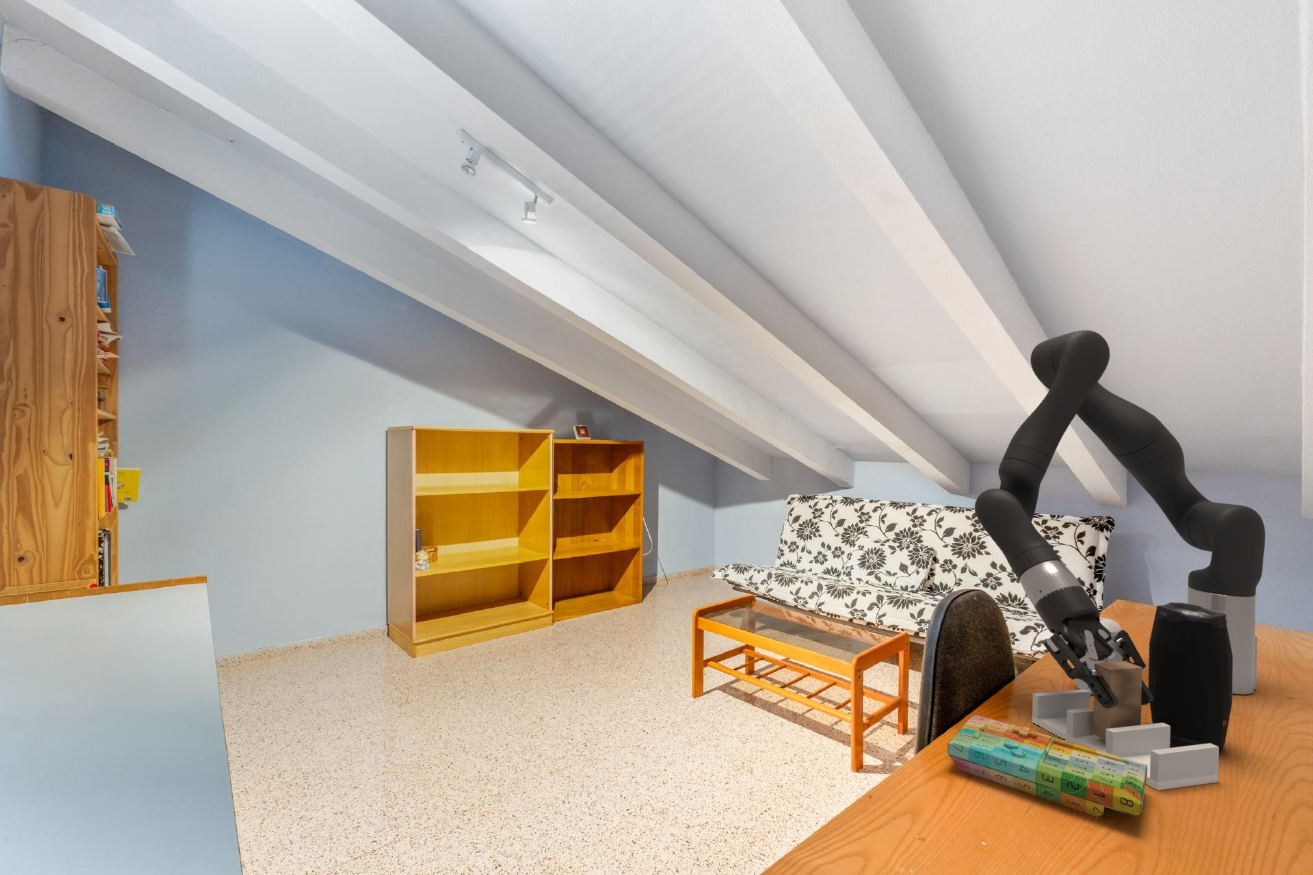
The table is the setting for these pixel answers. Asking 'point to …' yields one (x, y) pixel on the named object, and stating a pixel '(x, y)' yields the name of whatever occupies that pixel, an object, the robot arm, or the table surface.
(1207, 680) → the portable speaker
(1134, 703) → the walnut block
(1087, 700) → the slotted rack
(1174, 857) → the table surface
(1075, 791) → the puzzle game
